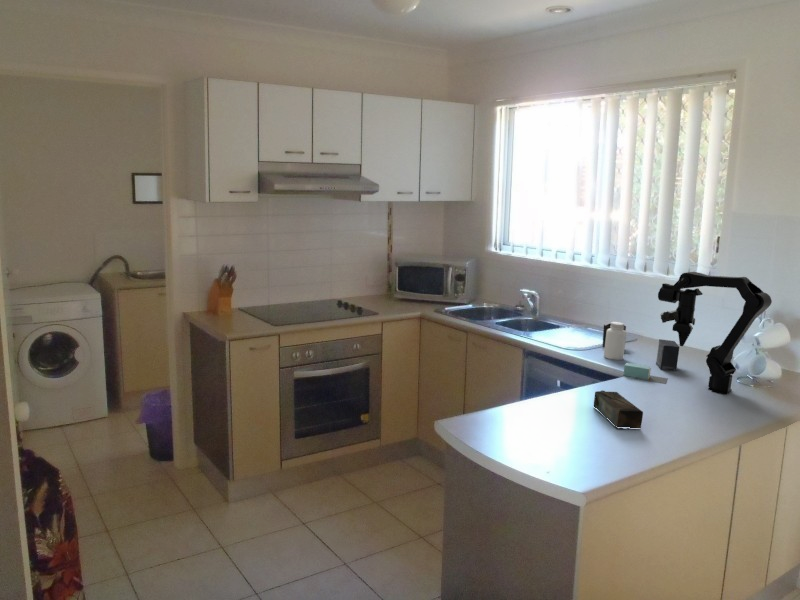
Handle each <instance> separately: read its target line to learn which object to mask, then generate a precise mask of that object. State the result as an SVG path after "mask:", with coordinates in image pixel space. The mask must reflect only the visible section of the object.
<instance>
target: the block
mask: <svg viewBox="0 0 800 600" xmlns="http://www.w3.org/2000/svg"><path fill="white" fill-rule="evenodd" d="M651 369H652V367H651V366H648V365H642V364H637V363H631V362H626V363H625V364H624V368H623V376H625V377H631V378H635V377H637V378H642V379H649V377H650V375H651V371H652V370H651Z"/></svg>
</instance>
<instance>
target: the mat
mask: <svg viewBox="0 0 800 600" xmlns="http://www.w3.org/2000/svg"><path fill="white" fill-rule="evenodd" d="M634 380H639V381H645V382H652V383H656V384H663V385H666V384H667V381H668V380H669V378H667V377H662V376H656V375H651V374H650V377H649V379H642V378H637V377H634Z"/></svg>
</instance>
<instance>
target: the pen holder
mask: <svg viewBox="0 0 800 600" xmlns="http://www.w3.org/2000/svg"><path fill="white" fill-rule="evenodd" d="M610 326H611V322H610V323H608V324H603V333H602V347H603V348H605V340H606V332H607V330H608V329H609V328H611V327H610ZM623 330H625V331H626V330H627V326H626V325H625V324H624V329H623Z"/></svg>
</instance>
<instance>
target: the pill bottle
mask: <svg viewBox="0 0 800 600" xmlns="http://www.w3.org/2000/svg"><path fill="white" fill-rule="evenodd" d="M610 323H611V326H610V327H611V328H609V329H608V330H607V332H606V340H605V347H604V349H603V350H604V351H603V357H604V358H605V359H608V360H619V361H621V360H624V355H625V348H626V339H627V332H626V331H625V330H623V329H624V325H625V323H624V322H619V321H611V322H610Z"/></svg>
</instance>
